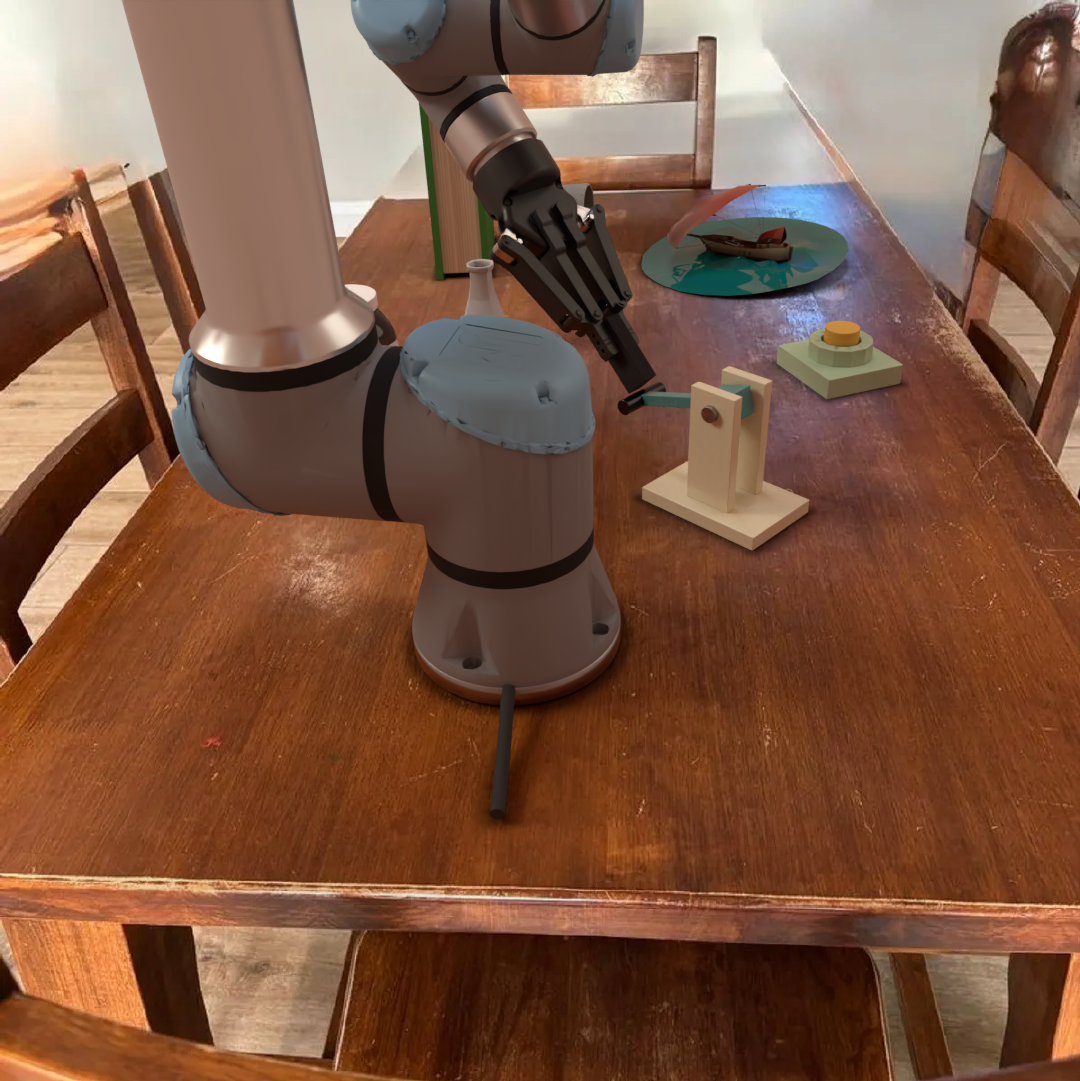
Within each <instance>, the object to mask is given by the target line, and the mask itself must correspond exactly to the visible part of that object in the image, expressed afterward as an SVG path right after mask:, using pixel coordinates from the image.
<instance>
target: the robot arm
mask: <svg viewBox="0 0 1080 1081" xmlns="http://www.w3.org/2000/svg"><path fill="white" fill-rule="evenodd" d="M121 2H122V6H123V9H124V13H125V18H126V21H127V24H128V28H129V32H130V36H131V39H132V40H131V41H132V44H133V47H134V50H135V54H136V58H137V61H138V65H139V69H140V72H141V76H142V80H143V83H144V87H145V90H146V95H147V99H148V102H149V106H150V109H151V113H152V116H153V120H154V124H155V127H156V128H155V129H156V131H157V134H158V135H157V136H158V139H159V142H160V146H161V150H162V154H163V157H164V161H165V164H166V169H167V171H168V175H169V179H170V183H171V187H172V190H173V194H174V197H175V198H174V199H175V201H176V205H177V209H178V212H179V216H180V219H181V220H180V221H181V223H182V227H183V231H184V235H185V238H186V242H187V246H188V249H189V252H190V256H191V260H192V263H193V268H194V271H195V274H196V278H197V282H198V286H199V289H200V290H199V291H200V292H201V296H202V301H203V304H204V308H205V310H204V311H203V313H202V315H201V316H200V318H199V319H198V320H197V322H196V323H195V324H194V326H193V327H192V329H191V330H190V333H189V335H188V344H189V349H188V350H187V351H186V352H185V354H184V355H183V356H182V358H181V359H180V361H179V364H178V366H177V367H176V371H175V373H174V378H173V382H172V388H171V395H172V396H173V398H174V399H175V400H176V401H175V402H176V407H174V408H173V409H171V411H170V412H171V423H172V429H173V434H174V438H175V442H176V445H177V449H178V452H179V454H180V456H181V458H182V461H183V463H184V465H185V468H186V469H187V470H188V472H189V473H190V475H191V477H192V479H193V480H194V481H195V483H196V484H197V485H198V486H199V487H200V488H201V489H202V490H203V491H204V492H205V493H206V494H207V495H209V496H210V497H211V498H212V499H214V500H216V501H217V502H218V503H221V504H223V505H226V506H229V507H232V508H235V509H236V508H237V509H242V510H249V511H257V512H259V513H260V514H268V515H273V516H275V517H277V516H279V517H284V516H285V517H286V516H291V515H300V516H314V517H327V518H340V519H350V520H351V519H352V520H365V521H378V522H394V523H404V524H405V523H406V524H417V525H421V526H423V531H424V535H425V542H426V550H427V551H426V552H427V559H426V563H425V567H424V571H423V575H422V579H421V582H420V586H419V591H418V595H417V599H416V602H415V606H414V610H413V616H412V623H411V625H412V626H411V634H412V640H413V646H414V647H413V648H414V653H415V656H416V661H417V662H418V664H419V666H420V668H421V669H422V670H423V672H424V673H425V674H426V675H427V677H428V678H429V679H430V680H432V682H433V683H435V684H436V685H437V686H439V687H440V688H442V689H443V690H445V691H446V692H449V693H450V694H453V695H455V696H457V697H460V698H462V699H463V698H464V699H466V700H469V701H471V702H476V703H481V704H482V703H483V704H486V705H487V704H489V705H496V706H499V715H498V716H499V717H498V728H497V738H496V751H495V761H494V772H493V782H492V789H491V799H490V806H489V816H490V818H493V819H495V820H501V819H504V818H505V815H506V809H507V808H506V807H507V798H508V790H509V789H508V788H509V778H510V777H509V775H510V767H511V766H510V764H511V752H512V739H513V726H514V713H515V712H514V711H515V706H523V705H533V704H534V705H535V704H539V703H544V702H548V701H553V700H556V699H559V698H562V697H565V696H567V695H570V694H572V693H574V692H577V691H578V690H580V689H583V688H584V687H586V686H587V685H588V684H591V683H592V682H593V681H594V680H596V679H597V678H598V677H600V675H601V674H603V673H604V672H605V671H606V670H607V668H609V666H610V664H611V663H612V662H613V661H614V659H615V657H616V656H617V654H618V653H617V652H618V650H619V647H620V643H621V631H622V630H621V629H622V625H621V623H622V622H621V618H622V617H621V610H620V606H619V603H618V598H617V596H616V594H615V592H614V591H615V590H614V589H613V586H612V584H611V581H610V579H609V577H608V574H607V572H606V570H605V567H604V565H603V562H602V560H601V557H600V555H599V552H598V550H597V547H596V545H595V518H594V517H595V516H594V509H595V508H594V434H595V432H596V418H595V413H594V409H593V406H592V393H591V392H592V391H591V382H590V374H589V370H588V366H587V364H586V362H585V360H584V358H583V356H582V354H580V352H579V351H578V350H577V349H576V347H575V346H574V345H573V344H571V343H570V342H568V341H566V340H565V339H564V338H563V337H562V336H561V335H559V334H558V333H556V332H554V331H553V330H550V329H548V328H545V327H543V326H541V325H538V324H535V323H532V322H530V321H527V320H526V321H525V320H521V319H516V318H512V317H506V316H505V317H499V316H491V315H464V314H463V315H460V317H459V318H458V319H453V318H449V317H442V318H439V319H434V320H432V321H429V322H426V323H423V324H422V325H420V326H418V327H416V328H415V329H413V330H412V331H411V332H410V333H409V334H408V336H407V337H406V339H405V340H404V343H403V346H401V345H399V346H388V345H381V344H380V342H379V339H378V335H377V329H376V323H375V317H374V312H373V309H372V307H371V306H370V304H369V303H368V302H367V301H366V300H364V299H363V298H362V297H360V296H358V295H357V294H355V293H354V292H352V291H351V290H349V289H348V288H346V287H345V285H346V284H345V279H344V273H343V269H342V263H341V258H340V252H339V246H338V240H337V234H336V231H335V224H334V219H333V218H334V217H333V213H332V207H331V201H330V196H329V191H328V186H327V180H326V173H325V169H324V164H323V157H322V151H321V147H320V141H319V135H318V130H317V125H316V118H315V114H314V110H313V109H314V108H313V102H312V98H311V91H310V86H309V81H308V74H307V68H306V62H305V57H304V53H303V47H302V42H301V35H300V30H299V25H298V19H297V14H296V8H295V2H294V0H121ZM350 10H351V16H352V20H353V22H354V25H355V28H356V29H357V31H358V32H359V34H360V35H361V36H362V38H363V39H364V40H365V42H366V44H367V46H368V48H369V50H370V51H371V53H372V55H374V56H375V57H376V58H377V60H378V61H381V62H382V63H383V64H384V65H385V66H386V67H387V68H388V69H389V70H390V71H391V72H392V73H393V74H394V75H395V76H396V77H397V78H398V80H400V82H401V83H402V84H403V85H404V87H406V89H407V90H408V91H409V92H410V93H411V94H412V95H413V96H414V97H415V98H414V99H416V100H417V102H418V104H419V103H420V105H421V106H422V108H423V109H424V111H425V112H426V114H427V115H428V117H429V119H430V120H431V122H432V123H433V125H434V126H435V128H436V129H437V131H438V132H439V134H440V135H441V138H442V140H443V141H444V143H445V145H446V146H447V148H448V150H449V151H450V153H451V155H452V156H453V158H454V159H455V161H456V163H457V164H458V166H459V168H460V169H461V171H462V172H463V174H464V176H465V177H466V179H467V180H468V181H470V182H473V191H474V192H475V194H476V196H477V197H478V199H479V201H480V202H481V204H482V205H483V207H484V209H485V210H486V212H487V214H488V215H489V217H490V218H491V219H493V220H494V222H497V226H498V227H497V228H498V231H499V233H500V237H499V238H498V241H497V242H496V243H495V244H494V247H493V248H492V250H491V251H490V253H489V256H490V258H491V259H492V260H493V263H495V264H498V265H499V266H500V267H501V268H503V269H505V270H506V271H508V272H509V273H510V274H511V275H512V277H513V278H514V279H515V280H516V281H517V282H518V283H519V284H520V285H521V287H522V288H523V289H525V291H526V292H527V293H528V295H530V296H531V298H532V299H533V300H534V301H535V302H536V303H537V305H539V307H540V308H541V309H542V310H543V311H544V312H545V313H546V314H547V316H548V317H549V318H550V319H551V320H552V321H553V322H554V324H555V325H556V326H557V327H558V328H559V329H560V330H561V331H562V332H563V333H564V334H569V333H571V332H572V331H575V332H574V334H575V336H577V337H578V338H583V337H585V336H587V337H588V339H589V341H590V342H591V344H592V346H593V347H594V349H595V351H596V352H597V354H598V355H599V357H600V359H602V360H603V361H604V363H607V362H608V364H610V366H611V368H612V370H613V371H614V372H615V374H616V376H617V377H618V379H619V381H620V382H621V384H622V386H623V387H624V388H625V391H626V393H627V394H628V395H631V394H633V393H635V392H637V391H639V390H641V388H642V387H644V386H645V385H647V383H648V382H650V381H651V380H653V379H654V378H655V377H656V376H657V373H656V371H655V370H654V368H653V367H652V365H651V364H650V362H649V360H648V359H647V357H646V356H645V354H644V352H643V351H642V349H641V347H640V346H639V344H640V340H639V337H638V334H637V333H636V332H635V330H634V328H633V327H632V325H631V324H630V322H629V320H628V319H627V317H626V315H625V313H624V309H625V308H626V307H627V306H628V303H629V302H630V301H631V300H632V299H633V292H632V289H631V287H630V284H629V281H628V279H627V276H626V274H625V271H624V269H623V266H622V264H621V261H620V259H619V257H618V253H617V252H616V249H615V246H614V244H613V241H612V239H611V236H610V234H609V230H608V228H607V225H606V210H605V208H604V206H602V205H601V204H600V203H594V204H595V205H594V206H593V207H592V208H591V209H589V208H586V207H583V206H579V205H577V202H576V200H575V198H574V197H573V196H572V195H570V194H569V193H568V192H567V191H566V190H565V189H564V188H563V186H562V185H563V184H562V173H561V169H560V167H559V165H558V163H557V162H556V161H555V159H554V157H553V156H552V154H551V152H550V151H549V149H548V147H547V146H546V144H545V143H544V141H543V140H541V139H538V131H537V130H536V128H535V126H534V125H533V122H532V121H531V120H530V118H529V116H528V115H527V113H526V111H525V110H524V109H523V107H522V106H521V104H520V102H519V101H518V99H517V98H516V95H515V94H514V93H513V92H512V90H511V89H510V88H509V87H508V85H507V84H506V82H505V80H504V78H503V76H587V77H592V78H594V77H596V75H604V74H619V73H628V72H630V71H631V70H633V69H634V68H635V67H636V66H637V64H638V63H639V60H640V57H641V52H642V47H643V38H644V22H645V20H644V18H645V11H644V10H645V0H350Z"/></svg>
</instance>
